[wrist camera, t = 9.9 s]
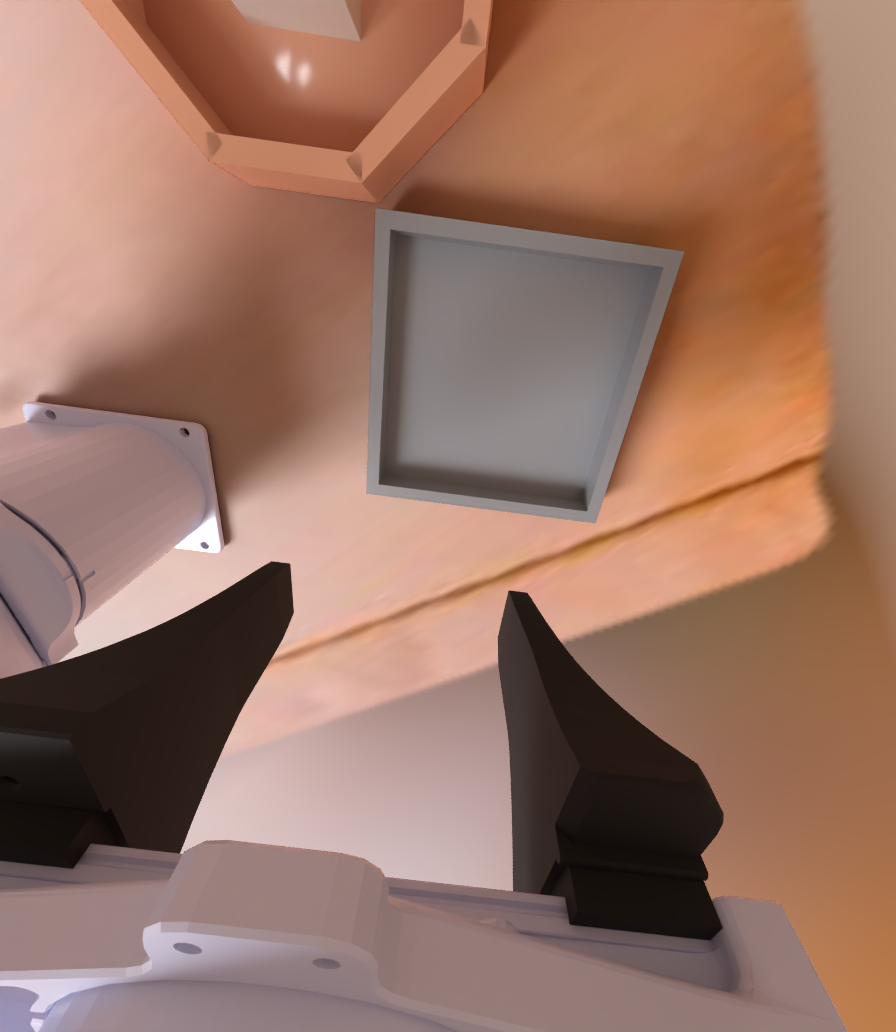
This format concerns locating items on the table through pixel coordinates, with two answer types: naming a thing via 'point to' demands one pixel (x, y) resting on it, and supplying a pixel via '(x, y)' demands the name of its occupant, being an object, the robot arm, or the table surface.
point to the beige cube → (306, 16)
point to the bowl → (308, 87)
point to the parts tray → (506, 362)
